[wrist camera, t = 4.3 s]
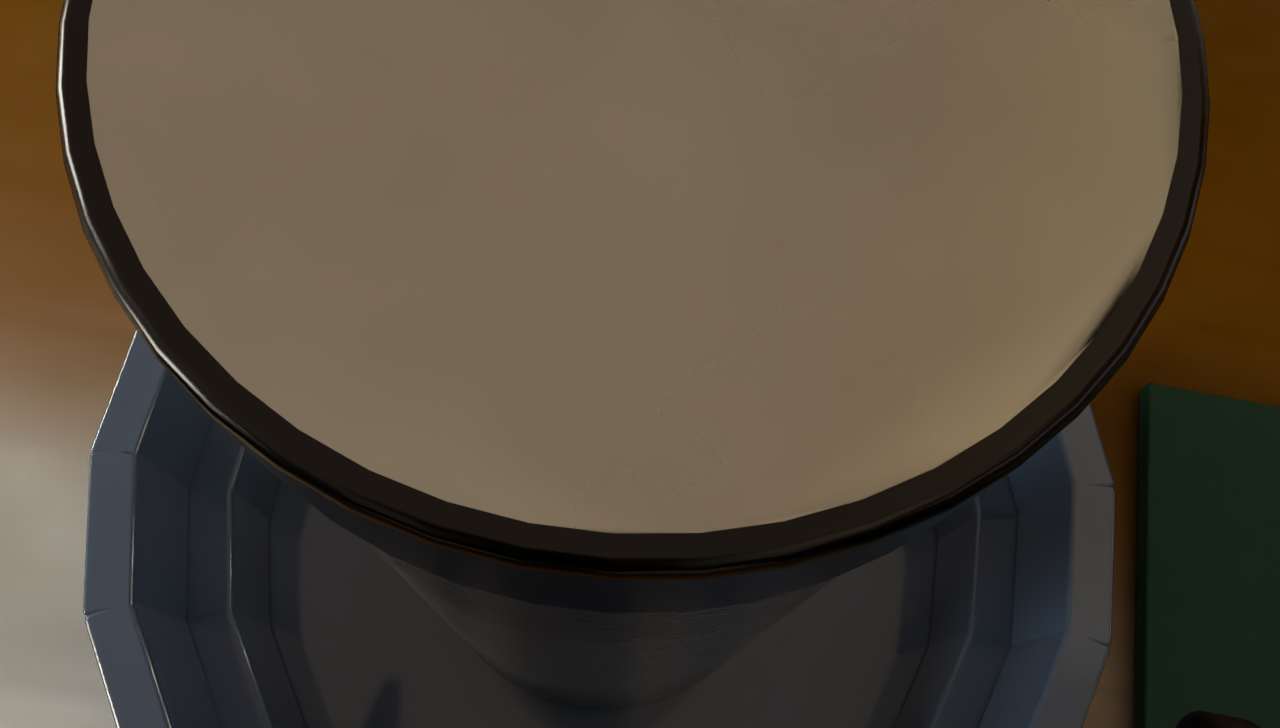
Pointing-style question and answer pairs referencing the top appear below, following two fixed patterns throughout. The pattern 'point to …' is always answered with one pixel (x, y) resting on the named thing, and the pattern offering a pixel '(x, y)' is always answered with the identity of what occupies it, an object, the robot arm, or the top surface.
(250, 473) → the blue bowl
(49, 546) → the top surface
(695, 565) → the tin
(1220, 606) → the mat
